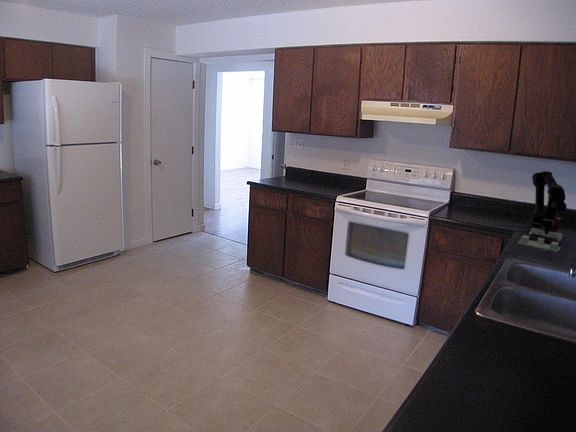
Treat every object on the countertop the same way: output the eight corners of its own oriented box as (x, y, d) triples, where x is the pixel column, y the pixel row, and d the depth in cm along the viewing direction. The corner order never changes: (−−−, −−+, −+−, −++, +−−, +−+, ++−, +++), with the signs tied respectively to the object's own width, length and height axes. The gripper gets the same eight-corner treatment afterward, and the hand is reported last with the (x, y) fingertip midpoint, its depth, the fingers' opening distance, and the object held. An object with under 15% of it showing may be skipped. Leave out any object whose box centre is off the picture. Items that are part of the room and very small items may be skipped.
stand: (522, 240, 272) (523, 233, 271) (560, 248, 260) (562, 242, 259) (517, 243, 264) (519, 236, 263) (557, 252, 252) (558, 245, 251)
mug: (541, 229, 306) (544, 214, 304) (554, 231, 304) (558, 216, 302) (546, 233, 296) (549, 217, 294) (559, 235, 294) (563, 219, 292)
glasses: (532, 232, 281) (533, 227, 280) (561, 238, 271) (563, 233, 271) (528, 234, 274) (529, 229, 273) (559, 241, 264) (560, 236, 264)
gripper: (540, 203, 282) (534, 228, 286) (533, 207, 268) (528, 233, 271) (560, 207, 276) (555, 232, 279) (555, 211, 261) (549, 237, 265)
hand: (546, 233), depth 274 cm, fingers closed on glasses, 2 cm apart
